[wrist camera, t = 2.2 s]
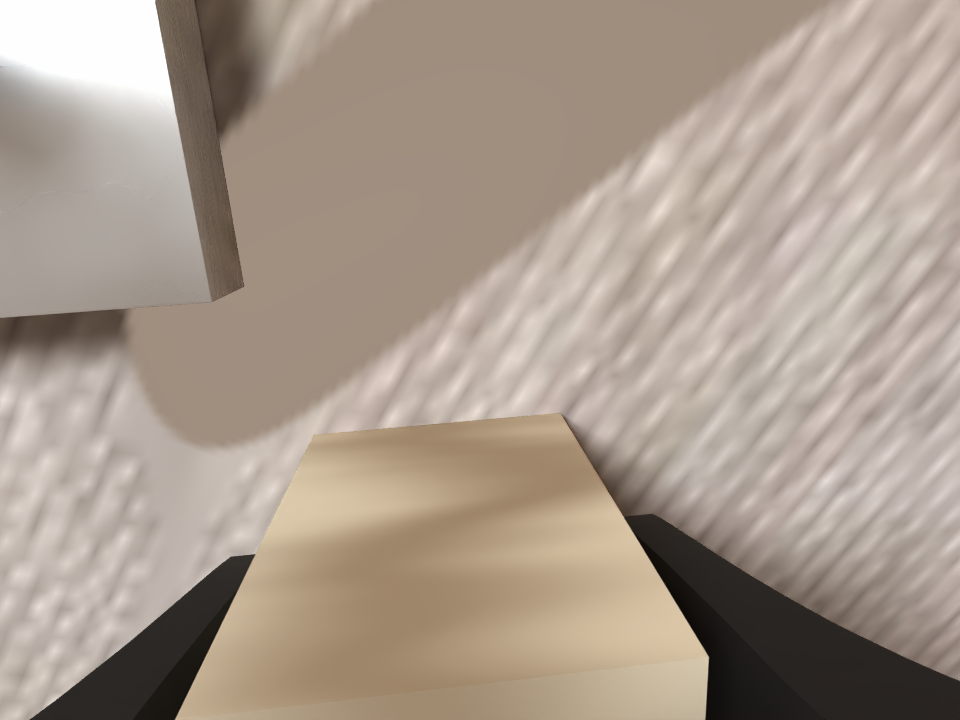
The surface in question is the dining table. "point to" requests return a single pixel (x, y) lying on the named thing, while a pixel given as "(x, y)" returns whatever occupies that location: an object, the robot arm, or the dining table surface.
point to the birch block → (451, 590)
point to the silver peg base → (109, 160)
